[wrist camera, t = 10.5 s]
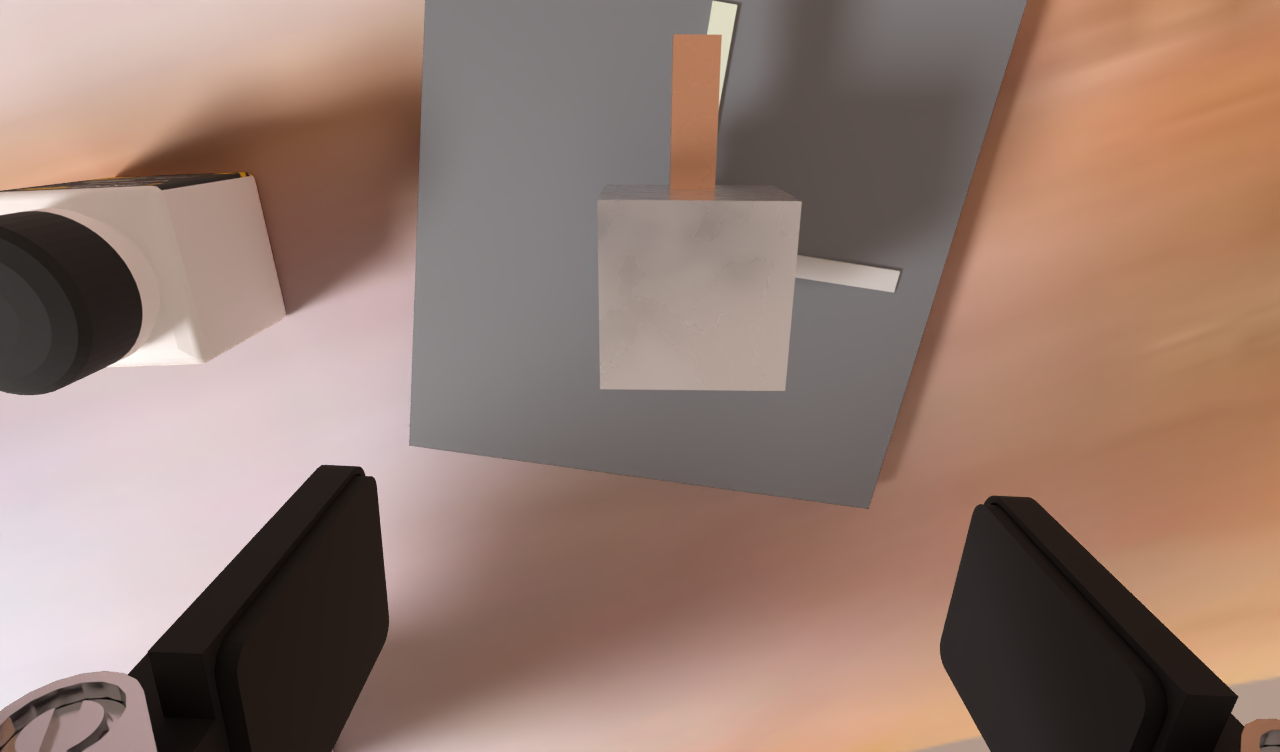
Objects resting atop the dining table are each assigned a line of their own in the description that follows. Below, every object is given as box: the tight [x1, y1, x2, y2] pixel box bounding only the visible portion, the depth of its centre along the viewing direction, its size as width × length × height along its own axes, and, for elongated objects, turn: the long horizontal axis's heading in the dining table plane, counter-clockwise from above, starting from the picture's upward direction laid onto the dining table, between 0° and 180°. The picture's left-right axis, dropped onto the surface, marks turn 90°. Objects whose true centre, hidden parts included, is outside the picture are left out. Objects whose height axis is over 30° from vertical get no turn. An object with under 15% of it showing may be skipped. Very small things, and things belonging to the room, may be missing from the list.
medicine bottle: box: [0, 172, 286, 395], centre depth 28 cm, size 7×7×12 cm
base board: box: [409, 0, 1027, 509], centre depth 32 cm, size 24×24×2 cm
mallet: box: [597, 34, 802, 391], centre depth 24 cm, size 6×11×5 cm, turn 0°
